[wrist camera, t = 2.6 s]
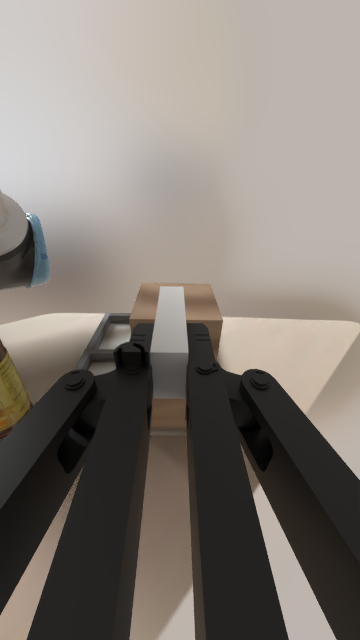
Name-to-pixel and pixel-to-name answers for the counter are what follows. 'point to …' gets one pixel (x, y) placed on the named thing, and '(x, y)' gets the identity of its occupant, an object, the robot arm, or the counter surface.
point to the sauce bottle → (11, 395)
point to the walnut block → (197, 311)
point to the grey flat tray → (102, 358)
